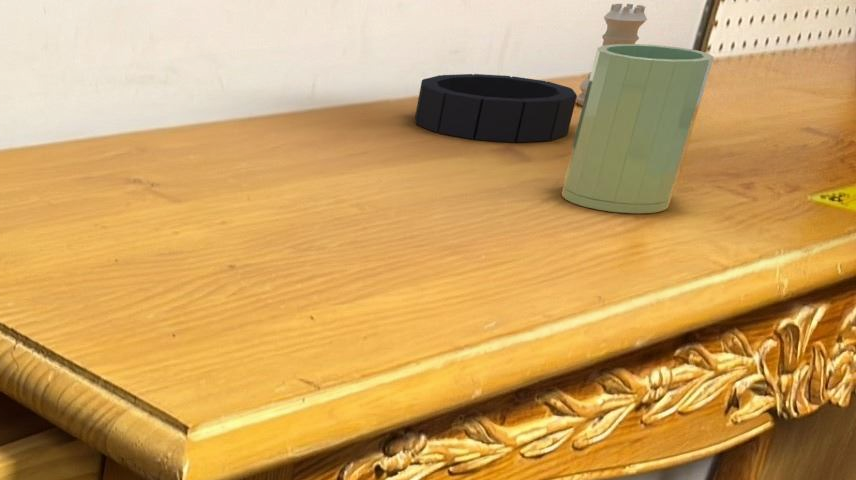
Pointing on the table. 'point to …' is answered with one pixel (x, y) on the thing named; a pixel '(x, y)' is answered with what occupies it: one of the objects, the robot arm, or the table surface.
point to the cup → (635, 127)
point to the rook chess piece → (618, 32)
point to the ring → (495, 107)
